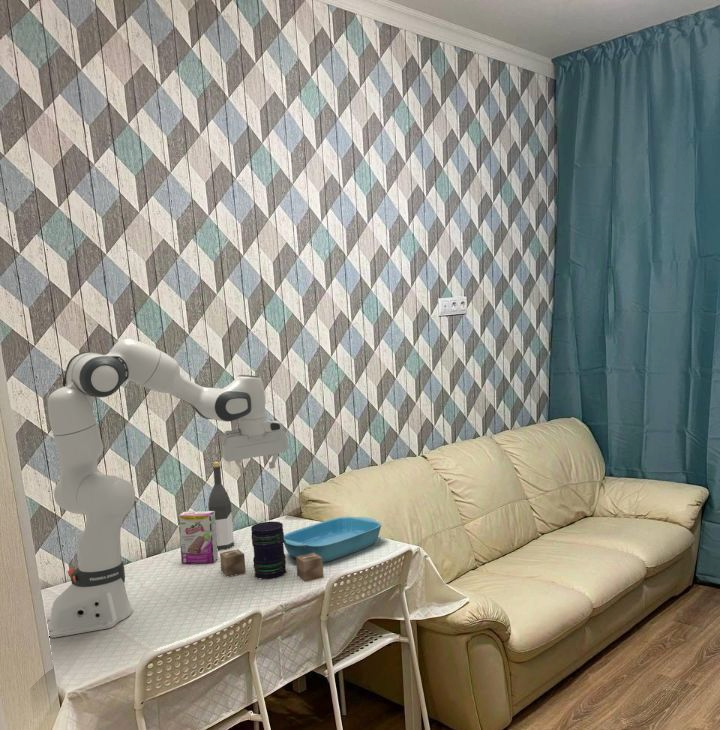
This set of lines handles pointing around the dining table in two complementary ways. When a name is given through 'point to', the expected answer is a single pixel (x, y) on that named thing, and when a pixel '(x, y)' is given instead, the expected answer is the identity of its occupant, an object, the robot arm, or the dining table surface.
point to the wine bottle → (221, 511)
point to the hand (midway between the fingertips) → (257, 470)
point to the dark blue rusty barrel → (268, 550)
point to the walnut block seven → (232, 562)
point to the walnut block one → (309, 566)
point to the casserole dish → (333, 537)
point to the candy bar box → (198, 537)
